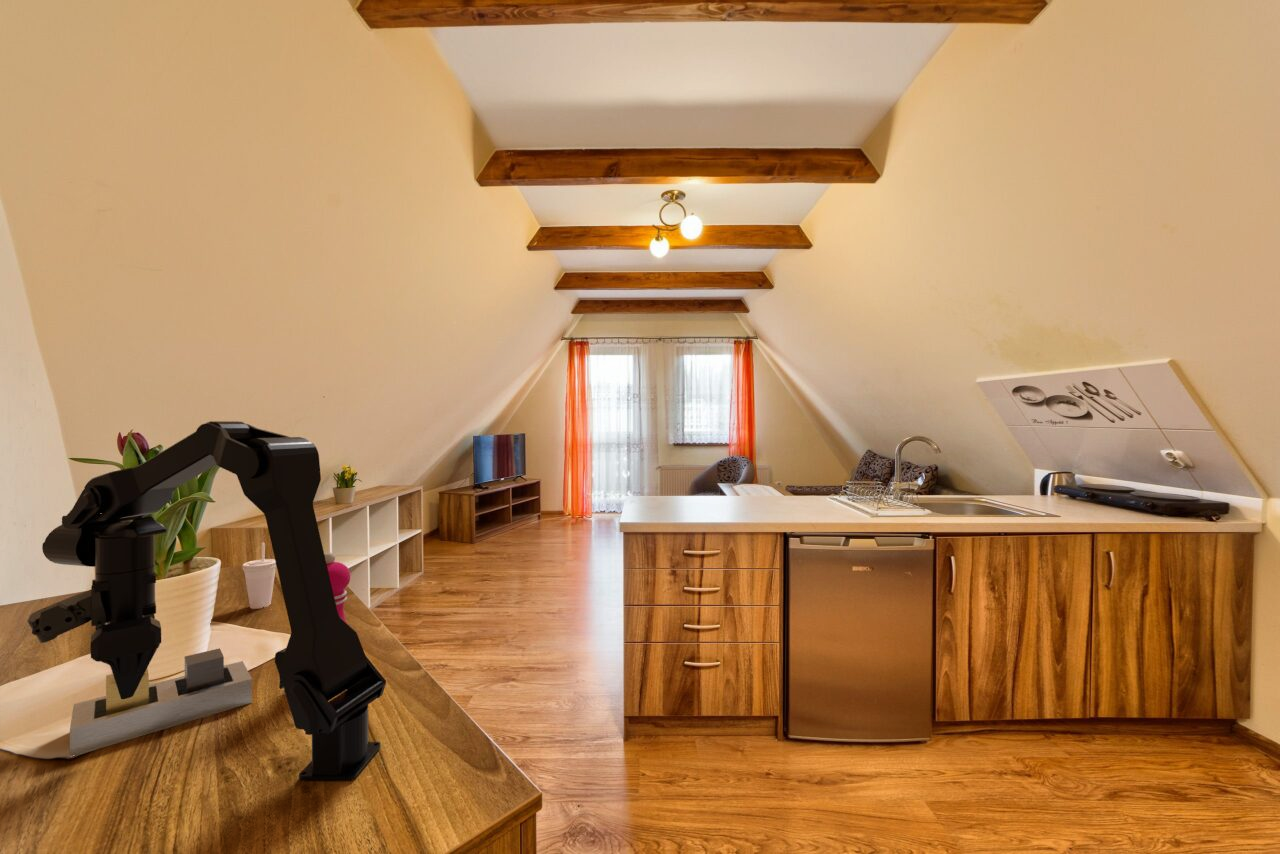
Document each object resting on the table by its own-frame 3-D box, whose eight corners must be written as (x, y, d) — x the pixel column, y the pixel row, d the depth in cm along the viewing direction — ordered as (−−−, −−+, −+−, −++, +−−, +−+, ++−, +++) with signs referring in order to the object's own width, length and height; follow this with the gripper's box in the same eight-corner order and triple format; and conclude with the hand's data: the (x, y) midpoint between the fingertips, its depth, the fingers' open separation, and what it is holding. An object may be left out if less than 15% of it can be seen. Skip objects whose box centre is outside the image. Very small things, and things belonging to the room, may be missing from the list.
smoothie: (283, 604, 119) (283, 542, 118) (250, 613, 113) (250, 547, 113) (269, 599, 122) (269, 538, 122) (237, 607, 117) (236, 543, 116)
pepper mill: (331, 691, 80) (330, 559, 80) (290, 686, 82) (290, 557, 81) (365, 670, 87) (364, 548, 87) (327, 665, 89) (326, 546, 88)
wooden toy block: (148, 727, 71) (148, 675, 71) (106, 740, 68) (106, 685, 68) (147, 715, 74) (147, 665, 73) (106, 727, 71) (106, 675, 71)
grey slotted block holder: (242, 683, 83) (242, 638, 83) (251, 702, 77) (251, 654, 77) (73, 730, 70) (73, 677, 70) (70, 757, 64) (69, 700, 64)
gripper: (41, 566, 72) (42, 681, 72) (24, 599, 58) (25, 740, 58) (153, 552, 79) (154, 656, 79) (161, 578, 66) (161, 703, 66)
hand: (126, 685), depth 71 cm, fingers open, 9 cm apart
